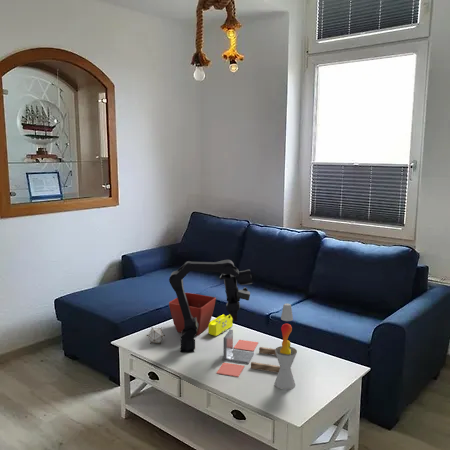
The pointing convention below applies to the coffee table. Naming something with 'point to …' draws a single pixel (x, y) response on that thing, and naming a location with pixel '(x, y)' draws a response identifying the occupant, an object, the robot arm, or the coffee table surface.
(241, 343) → the mat
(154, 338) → the white faceted polyhedron
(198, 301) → the plant pot
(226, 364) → the mat
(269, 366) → the walnut corral
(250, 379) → the coffee table surface
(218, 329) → the yellow toy chassis
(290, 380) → the lava lamp
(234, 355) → the grey bookend
